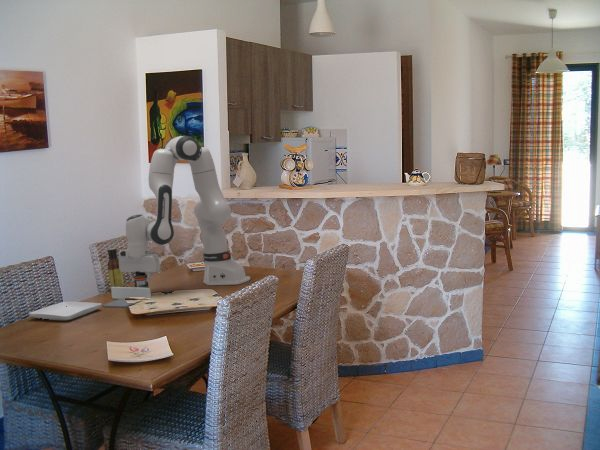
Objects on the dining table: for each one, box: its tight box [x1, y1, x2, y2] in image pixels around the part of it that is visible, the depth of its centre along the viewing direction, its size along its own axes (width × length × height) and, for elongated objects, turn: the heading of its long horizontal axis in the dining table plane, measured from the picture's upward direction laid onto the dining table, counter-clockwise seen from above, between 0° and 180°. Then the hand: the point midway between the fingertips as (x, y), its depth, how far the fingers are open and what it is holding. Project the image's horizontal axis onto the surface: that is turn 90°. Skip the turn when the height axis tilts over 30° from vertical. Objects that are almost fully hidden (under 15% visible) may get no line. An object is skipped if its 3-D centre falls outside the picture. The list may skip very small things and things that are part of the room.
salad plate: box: [28, 301, 103, 322], centre depth 299 cm, size 21×21×3 cm
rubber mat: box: [101, 299, 134, 309], centre depth 312 cm, size 12×12×1 cm
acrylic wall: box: [110, 286, 152, 300], centre depth 321 cm, size 20×1×5 cm, turn 66°
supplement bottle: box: [133, 271, 150, 288], centre depth 326 cm, size 6×6×11 cm
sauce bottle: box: [107, 247, 125, 288], centre depth 341 cm, size 6×6×20 cm
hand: (141, 281), depth 326 cm, fingers closed on supplement bottle, 6 cm apart
